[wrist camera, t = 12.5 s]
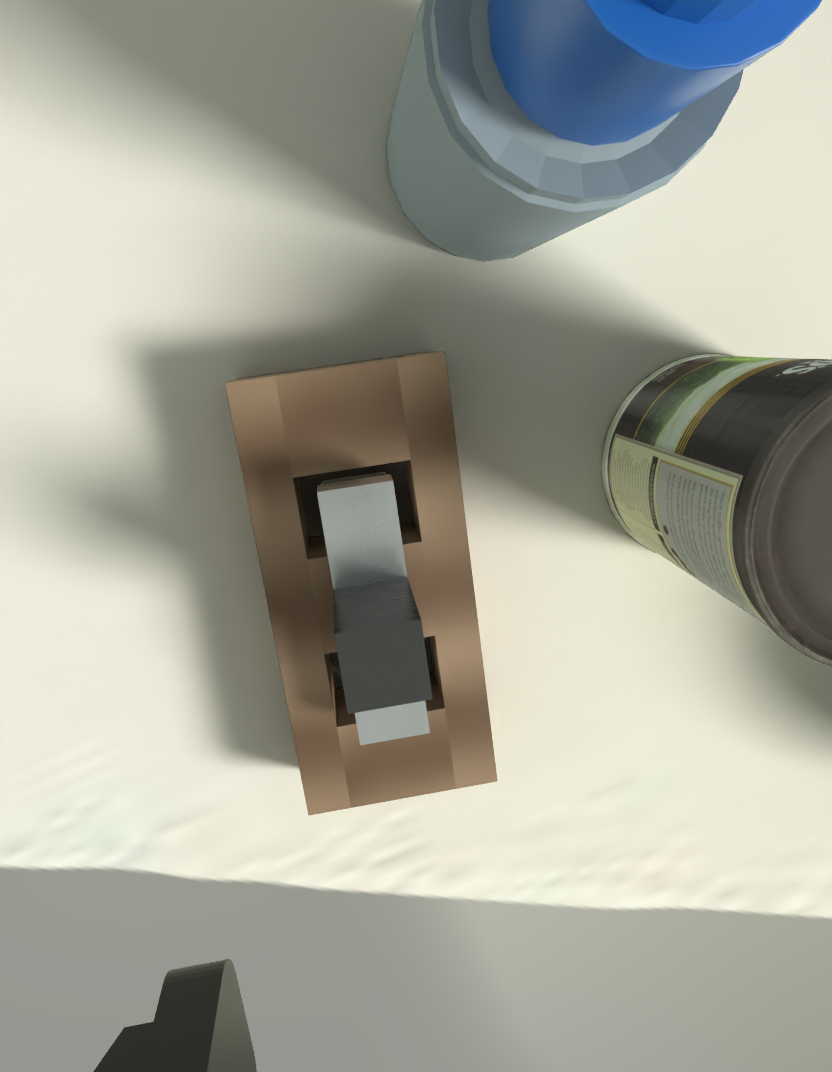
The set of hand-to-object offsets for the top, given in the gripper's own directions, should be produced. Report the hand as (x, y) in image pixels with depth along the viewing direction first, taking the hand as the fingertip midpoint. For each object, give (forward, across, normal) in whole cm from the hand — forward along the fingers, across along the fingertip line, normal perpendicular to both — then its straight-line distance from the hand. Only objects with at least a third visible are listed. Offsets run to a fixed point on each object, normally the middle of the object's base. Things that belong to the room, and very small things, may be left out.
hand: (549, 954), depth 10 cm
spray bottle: (+29, -6, -14) cm, 33 cm away
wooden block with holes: (+28, +1, +4) cm, 29 cm away
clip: (+28, +1, +4) cm, 29 cm away
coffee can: (+29, -16, 0) cm, 33 cm away
